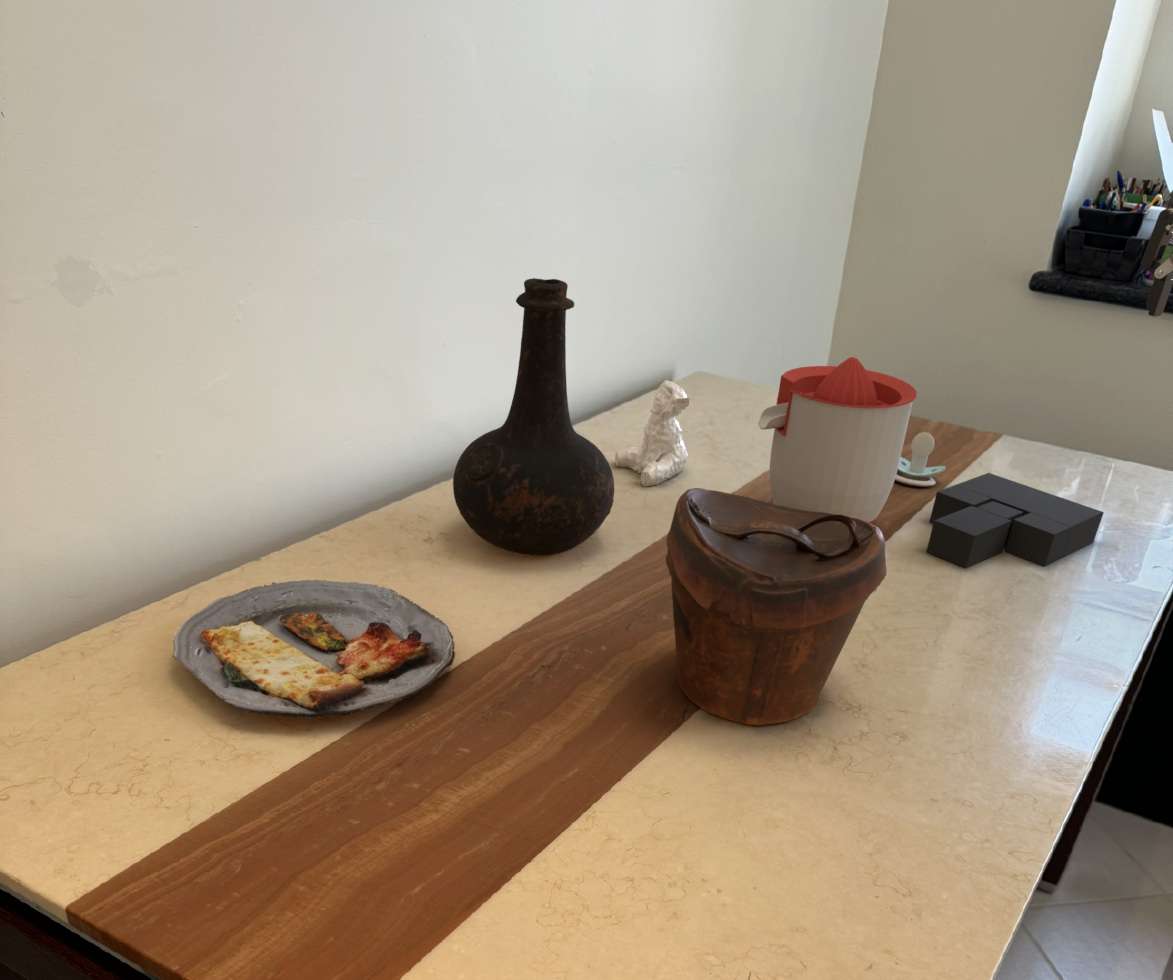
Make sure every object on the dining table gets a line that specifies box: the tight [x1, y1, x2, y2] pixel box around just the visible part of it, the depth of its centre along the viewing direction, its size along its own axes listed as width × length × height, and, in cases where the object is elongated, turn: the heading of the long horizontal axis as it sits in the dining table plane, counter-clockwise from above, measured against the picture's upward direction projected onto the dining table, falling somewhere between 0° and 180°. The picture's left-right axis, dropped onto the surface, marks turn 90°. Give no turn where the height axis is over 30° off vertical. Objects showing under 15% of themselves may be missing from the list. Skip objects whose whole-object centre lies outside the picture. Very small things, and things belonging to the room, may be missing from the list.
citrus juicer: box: [758, 356, 918, 525], centre depth 130 cm, size 16×17×20 cm
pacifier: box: [894, 431, 947, 487], centre depth 149 cm, size 7×6×6 cm
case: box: [665, 487, 888, 726], centre depth 97 cm, size 18×20×18 cm
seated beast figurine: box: [614, 379, 690, 487], centre depth 144 cm, size 10×9×12 cm
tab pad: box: [925, 501, 1023, 569], centre depth 132 cm, size 6×12×4 cm, turn 132°
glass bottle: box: [452, 277, 615, 557], centre depth 119 cm, size 18×18×28 cm
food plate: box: [172, 579, 456, 719], centre depth 101 cm, size 25×23×4 cm
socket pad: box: [929, 472, 1104, 567], centre depth 137 cm, size 16×12×4 cm
